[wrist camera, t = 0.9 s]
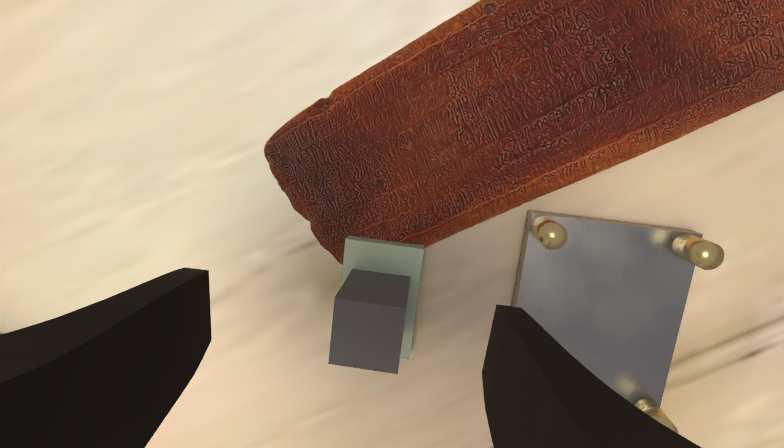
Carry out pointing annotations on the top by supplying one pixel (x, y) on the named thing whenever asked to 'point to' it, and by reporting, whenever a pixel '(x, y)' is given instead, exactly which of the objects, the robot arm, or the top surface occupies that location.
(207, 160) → the top surface
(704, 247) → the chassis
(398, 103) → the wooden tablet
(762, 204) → the top surface
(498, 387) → the robot arm
